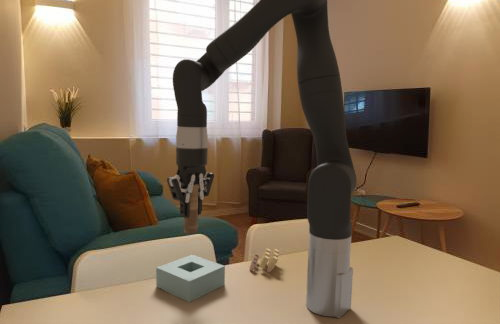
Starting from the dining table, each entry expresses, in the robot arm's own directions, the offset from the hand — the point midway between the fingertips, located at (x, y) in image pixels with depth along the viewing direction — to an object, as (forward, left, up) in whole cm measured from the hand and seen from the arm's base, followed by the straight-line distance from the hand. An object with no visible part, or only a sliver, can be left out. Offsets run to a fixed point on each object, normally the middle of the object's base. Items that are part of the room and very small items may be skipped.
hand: (191, 215), depth 93 cm
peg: (0, 0, -4) cm, 4 cm away
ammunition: (-7, -22, -19) cm, 30 cm away
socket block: (0, 0, -18) cm, 18 cm away
